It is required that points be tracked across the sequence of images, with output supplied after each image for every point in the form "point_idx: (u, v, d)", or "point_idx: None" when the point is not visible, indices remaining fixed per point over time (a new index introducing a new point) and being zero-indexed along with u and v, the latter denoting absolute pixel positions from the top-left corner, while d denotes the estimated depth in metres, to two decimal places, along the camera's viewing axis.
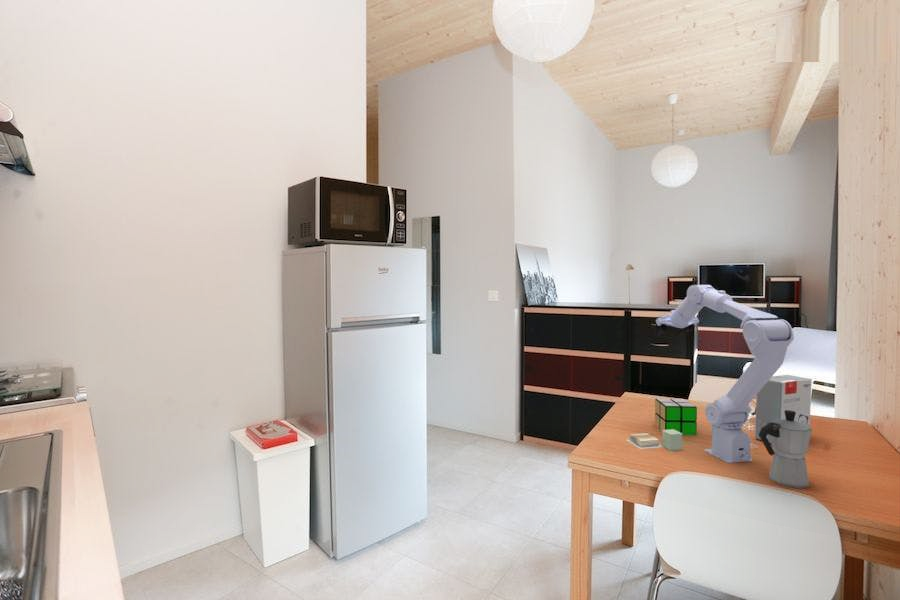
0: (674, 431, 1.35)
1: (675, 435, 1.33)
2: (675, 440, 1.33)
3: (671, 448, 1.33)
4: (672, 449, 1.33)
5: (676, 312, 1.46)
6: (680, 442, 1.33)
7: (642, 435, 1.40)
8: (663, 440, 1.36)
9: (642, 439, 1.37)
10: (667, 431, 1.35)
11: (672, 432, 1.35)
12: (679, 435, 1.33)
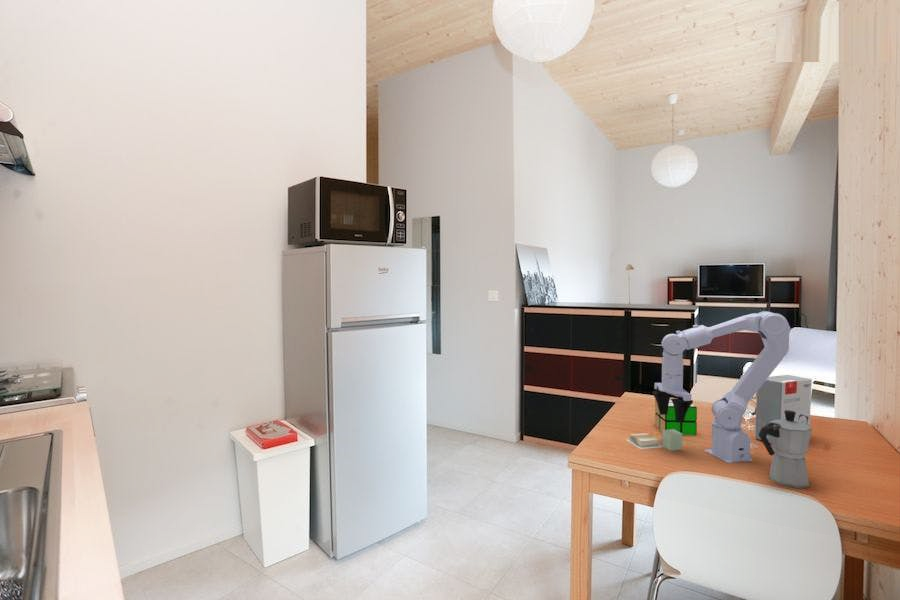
0: (674, 431, 1.35)
1: (675, 435, 1.33)
2: (675, 440, 1.33)
3: (671, 448, 1.33)
4: (672, 449, 1.33)
5: (677, 378, 1.32)
6: (680, 442, 1.33)
7: (642, 435, 1.40)
8: (663, 440, 1.36)
9: (642, 439, 1.37)
10: (667, 431, 1.35)
11: (672, 432, 1.35)
12: (679, 435, 1.33)
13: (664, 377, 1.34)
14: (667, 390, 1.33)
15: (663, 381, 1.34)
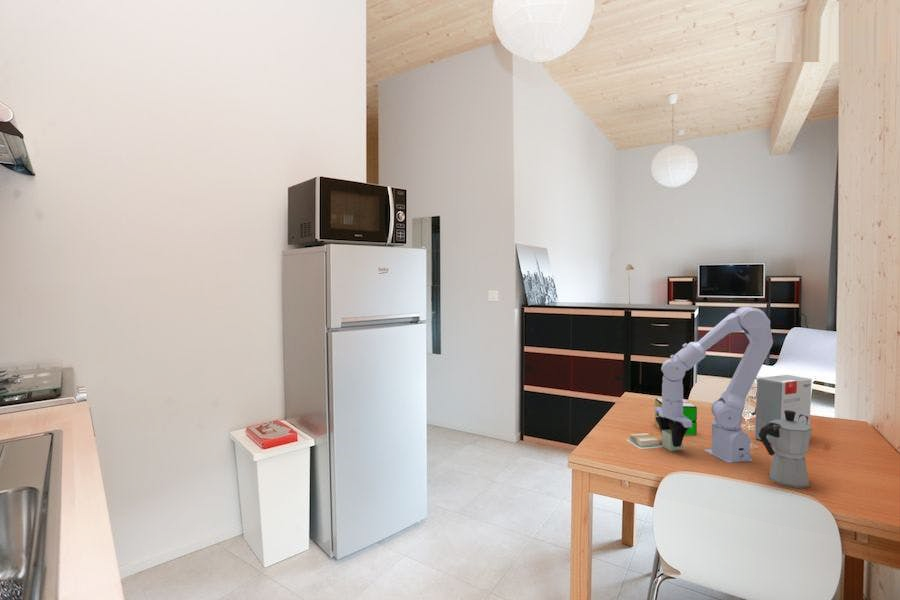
0: None
1: None
2: None
3: (671, 448, 1.33)
4: (672, 449, 1.33)
5: (677, 404, 1.32)
6: None
7: (642, 435, 1.40)
8: (663, 440, 1.36)
9: (642, 439, 1.37)
10: (667, 431, 1.35)
11: None
12: None
13: (664, 403, 1.34)
14: (667, 416, 1.33)
15: (663, 407, 1.34)
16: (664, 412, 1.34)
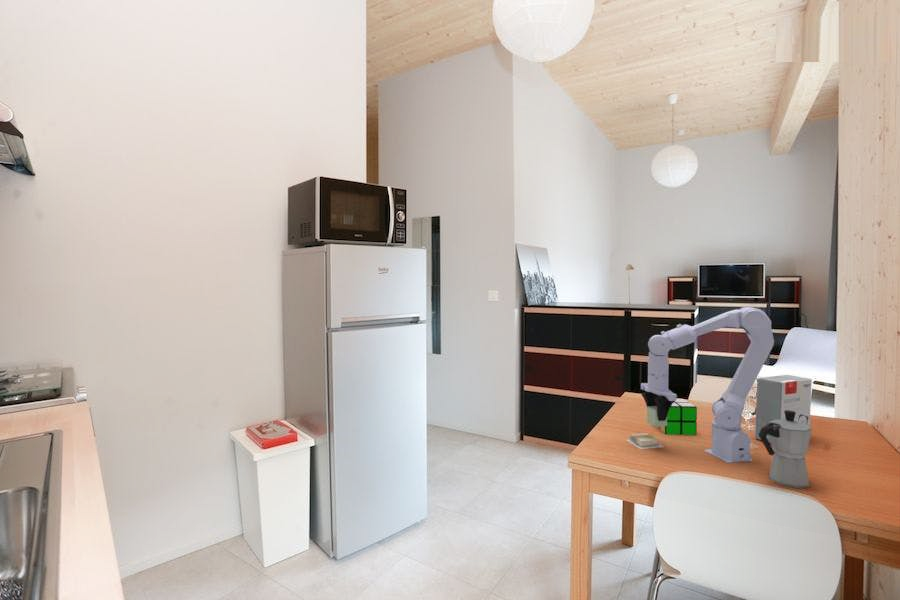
0: None
1: None
2: None
3: (656, 424, 1.35)
4: (657, 425, 1.35)
5: (662, 379, 1.33)
6: None
7: (642, 435, 1.40)
8: (648, 416, 1.38)
9: (642, 439, 1.37)
10: (652, 407, 1.37)
11: None
12: None
13: (650, 378, 1.35)
14: (653, 390, 1.34)
15: (649, 381, 1.36)
16: (650, 387, 1.36)
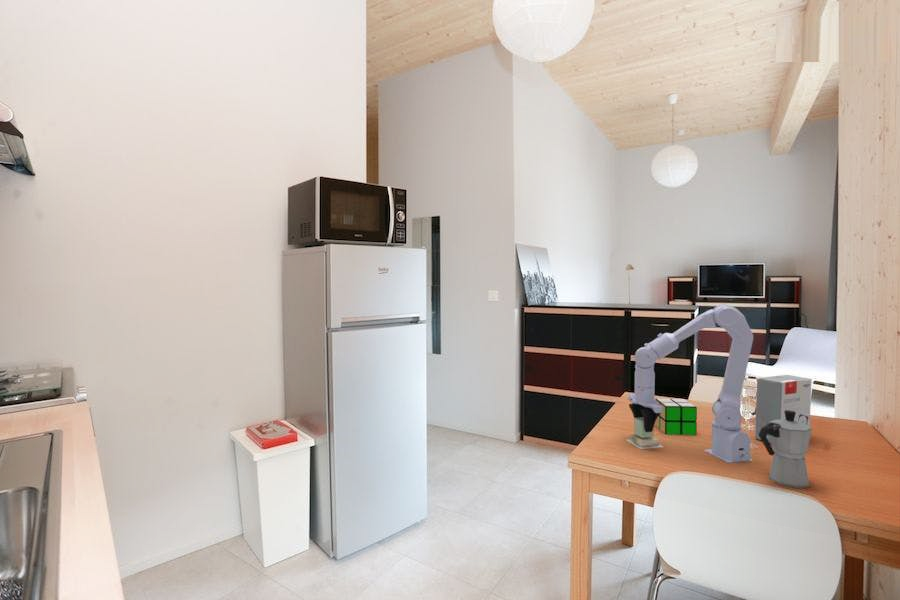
0: None
1: None
2: None
3: (642, 435, 1.37)
4: (643, 436, 1.37)
5: (649, 391, 1.35)
6: None
7: None
8: (635, 427, 1.40)
9: (642, 439, 1.37)
10: (639, 419, 1.39)
11: None
12: None
13: (636, 389, 1.38)
14: (639, 402, 1.36)
15: (636, 393, 1.38)
16: (636, 398, 1.38)
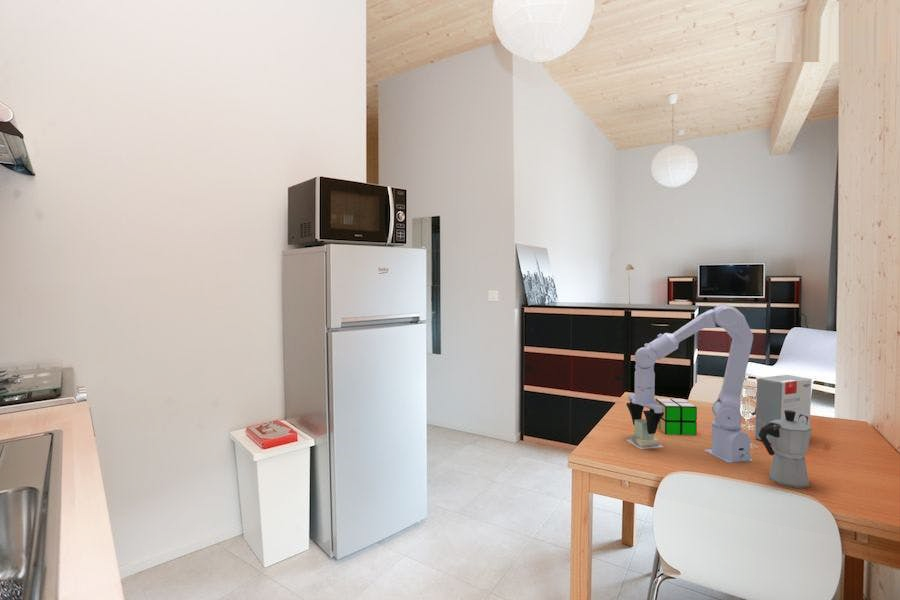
0: None
1: None
2: None
3: (643, 437, 1.37)
4: (644, 438, 1.37)
5: (649, 391, 1.35)
6: None
7: None
8: (635, 429, 1.40)
9: None
10: (639, 420, 1.39)
11: (644, 421, 1.39)
12: None
13: (636, 390, 1.38)
14: (639, 402, 1.36)
15: (636, 393, 1.38)
16: (636, 399, 1.38)
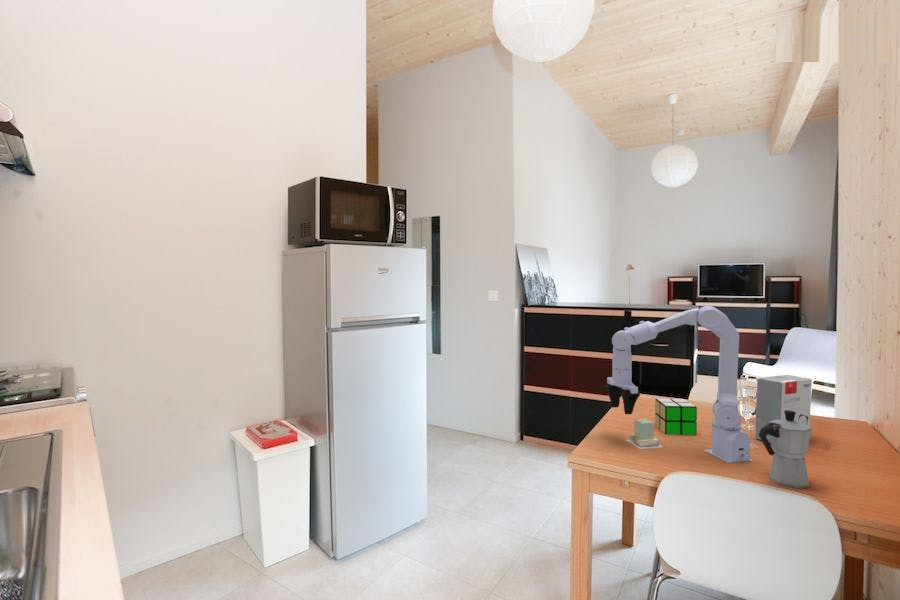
0: (646, 420, 1.39)
1: (647, 424, 1.37)
2: (647, 429, 1.37)
3: (643, 437, 1.37)
4: (644, 438, 1.37)
5: (625, 372, 1.39)
6: (651, 431, 1.37)
7: None
8: (635, 429, 1.40)
9: None
10: (639, 420, 1.39)
11: (644, 421, 1.39)
12: (650, 424, 1.37)
13: (614, 371, 1.41)
14: (617, 384, 1.40)
15: (613, 375, 1.41)
16: (614, 380, 1.41)
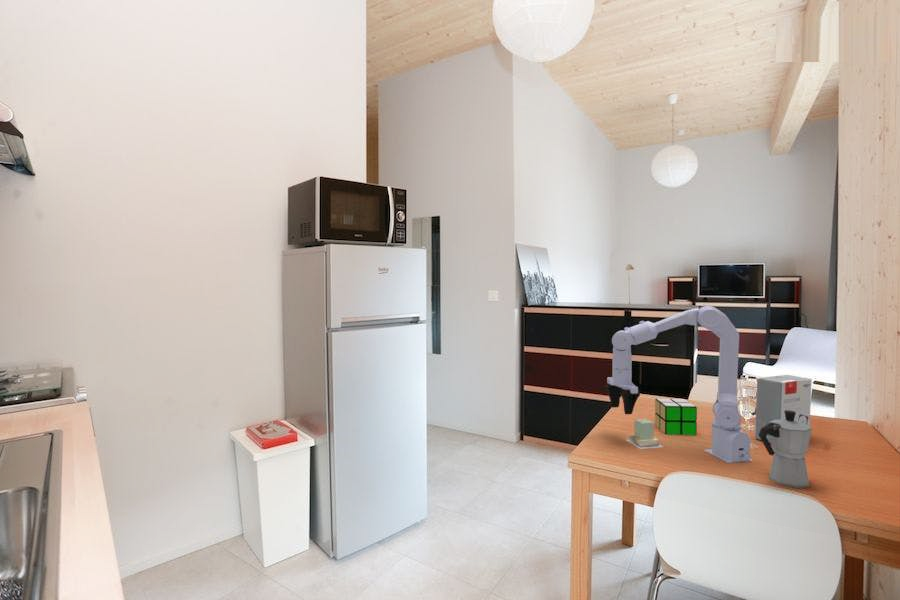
0: (646, 420, 1.39)
1: (647, 424, 1.37)
2: (647, 429, 1.37)
3: (643, 437, 1.37)
4: (644, 438, 1.37)
5: (625, 372, 1.39)
6: (651, 431, 1.37)
7: None
8: (635, 429, 1.40)
9: None
10: (639, 420, 1.39)
11: (644, 421, 1.39)
12: (650, 424, 1.37)
13: (614, 371, 1.41)
14: (617, 384, 1.40)
15: (613, 375, 1.41)
16: (614, 380, 1.41)
